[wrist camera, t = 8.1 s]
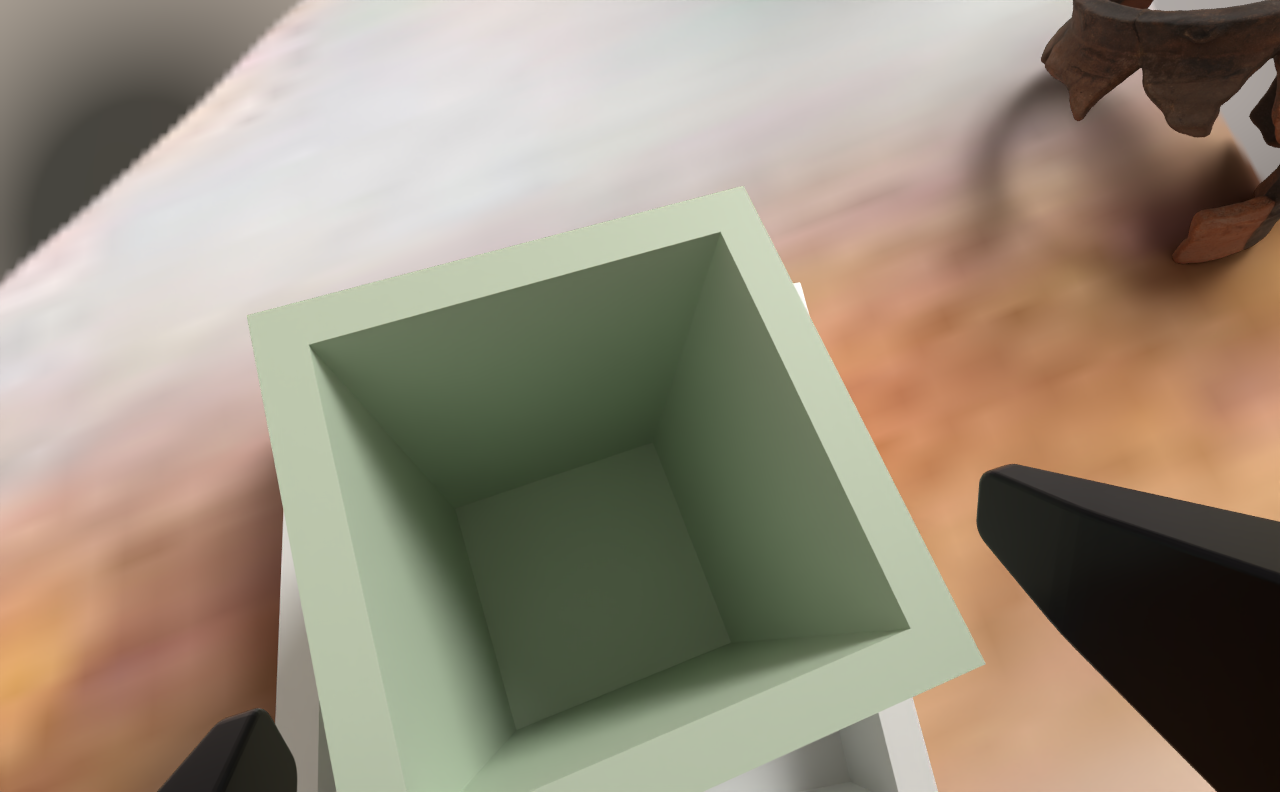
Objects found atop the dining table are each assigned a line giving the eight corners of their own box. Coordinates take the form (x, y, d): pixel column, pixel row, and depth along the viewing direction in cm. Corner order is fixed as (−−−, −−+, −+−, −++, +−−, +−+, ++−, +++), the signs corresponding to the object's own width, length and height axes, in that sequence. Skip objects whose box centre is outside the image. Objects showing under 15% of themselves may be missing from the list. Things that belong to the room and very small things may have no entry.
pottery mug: (1107, 311, 23) (1177, 63, 17) (969, 187, 29) (987, -18, 24) (1482, 203, 22) (1691, -100, 16) (1249, 101, 28) (1337, -136, 23)
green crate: (757, 658, 16) (986, 664, 7) (500, 764, 15) (365, 944, 6) (663, 422, 18) (743, 185, 9) (430, 499, 17) (246, 315, 8)
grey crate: (878, 806, 16) (952, 846, 13) (336, 916, 14) (264, 991, 11) (766, 341, 20) (800, 282, 17) (341, 386, 19) (290, 330, 16)
